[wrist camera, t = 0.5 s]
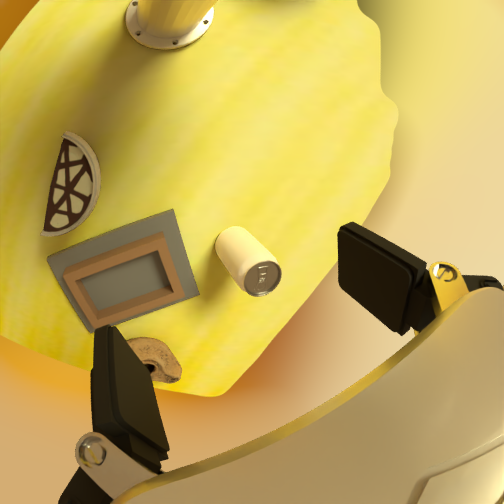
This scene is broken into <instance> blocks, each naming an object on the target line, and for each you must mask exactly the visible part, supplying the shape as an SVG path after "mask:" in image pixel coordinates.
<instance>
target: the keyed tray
mask: <svg viewBox="0 0 504 504" xmlns="http://www.w3.org/2000/svg"><path fill="white" fill-rule="evenodd" d="M47 261H48V263H49V265H50V267H51V269H52V271H53V273H54V275H55V277H56V278H57V280H58V282H59V284H60V286H61V287H62V289H63V291H64V293H65V294H66V296H67V298H68V299H69V301H70V303H71V304H72V306H73V308H74V309H75V311H76V312H77V314H78V316H79V317H80V319H81V320H82V322H83V323H84V325H85V326H86V328H87V329H88V331H89V332H90V333H93V332H95V329H97V328H100V327H102V326H105V325H107V324H109V325H110V326H113V325H116V324H119V323H122V322H125V321H128V320H130V319H133V318H136V317H139V316H142V315H145V314H147V313H150V312H153V311H156V310H159V309H161V308H164V307H167V306H170V305H173V304H175V303H178V302H181V301H184V300H186V299H189V298H192V297H195V296H197V295H200V294H199V291H198V288H197V285H196V282H195V279H194V276H193V273H192V269H191V266H190V263H189V260H188V257H187V254H186V250H185V247H184V244H183V241H182V237H181V234H180V230H179V227H178V224H177V220H176V217H175V213H174V210H173V209H171V210H168V211H165V212H162V213H159V214H156V215H153V216H150V217H147V218H144V219H141V220H139V221H136V222H133V223H130V224H128V225H125V226H122V227H119V228H117V229H114V230H111V231H109V232H106V233H104V234H101V235H98V236H96V237H93V238H91V239H88V240H86V241H83V242H81V243H78V244H76V245H74V246H71V247H69V248H66V249H64V250H62V251H59V252H57V253H55V254H53V255H50V256H48V258H47Z"/></svg>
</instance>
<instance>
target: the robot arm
mask: <svg viewBox="0 0 504 504" xmlns="http://www.w3.org/2000/svg"><path fill="white" fill-rule="evenodd" d="M217 1H218V0H132V1H131V2H130V4H129V6H128V8H127V12H126V27H127V29H128V32H129V33H130V35H131V36H132V37H133V38H134V39H135V40H136V41H137V42H139V43H140V44H142V45H144V46H147V47H150V48H154V49H160V50H169V49H176V48H180V47H183V46H186V45H188V44H190V43H193V42H194V41H196V40H197V39H199V38H200V37H201V36H202V35H203V34H204V33H205V32H206V31H207V29H208V28H209V27H210V25H211V23H212V20H213V17H214V7H213V6H214V5H215V3H216V2H217ZM134 5H137V6H134ZM203 23H206V25H205V24H203ZM137 34H140V36H137ZM173 43H176V45H173ZM337 237H338V282H339V285H340V287H341V288H342V289H343V290H344V291H345V292H346V293H347V294H349V295H350V296H351V297H352V298H353V299H355V300H356V301H357V302H358V303H359V304H361V305H362V306H363V307H364V308H365V309H367V310H368V311H369V312H370V313H371V314H373V315H374V316H375V317H376V318H378V319H379V320H380V321H381V322H382V323H383V324H384V325H386V326H387V327H388V328H389V329H390V330H392V331H393V332H397V333H398V334H400V335H401V336H403V335H404V334H405V333H406V332H407V331H409V330H410V327H412V328H413V329H414V333H415V337H414V338H413V339H412V340H411V341H410V342H408V343H407V344H406V345H405V346H404V347H402V348H401V349H400V350H399V351H397V352H396V353H395V354H394V355H393V356H391V357H390V358H389V359H387V360H386V361H385V362H384V363H382V364H381V365H380V366H378V367H377V368H376V369H374V370H373V371H372V372H370V373H369V374H367V375H366V376H365V377H363V378H362V379H360V380H359V381H357V382H356V383H354V384H353V385H352V386H350V387H349V388H347V389H346V390H344V391H342V392H341V393H339V394H338V395H336V396H335V397H333V398H331V399H330V400H328V401H327V402H325V403H323V404H322V405H320V406H318V407H317V408H315V409H313V410H311V411H310V412H308V413H306V414H305V415H303V416H301V417H299V418H297V419H295V420H294V421H292V422H290V423H288V424H286V425H284V426H282V427H280V428H278V429H276V430H274V431H272V432H270V433H268V434H266V435H263V436H261V437H259V438H257V439H255V440H252V441H250V442H248V443H246V444H243V445H241V446H239V447H236V448H234V449H231V450H229V451H227V452H224V453H221V454H218V455H216V456H213V457H211V458H208V459H205V460H202V461H200V462H196V463H194V464H191V465H187V466H184V467H181V468H178V469H175V470H172V471H169V472H164V471H163V470H161V463H160V461H163V460H166V459H168V455H167V451H169V450H170V449H169V444H168V441H167V437H166V435H165V431H164V427H163V423H162V420H161V416H160V413H159V408H158V404H157V400H156V396H155V392H154V387H153V383H152V378H151V375H150V372H149V370H148V369H147V368H146V366H145V365H144V364H143V363H142V361H141V360H140V359H139V357H138V356H137V355H136V354H135V352H134V351H133V350H132V348H131V347H130V346H129V344H128V343H127V341H126V340H125V339H124V337H123V336H122V335H121V333H120V332H119V330H118V329H117V328H116V327H115V326H113V327H111V326H110V325H109V324H107V325H105V326H102V327H100V328H97V329H95V332H94V356H93V368H92V370H91V411H92V425H93V432H90V433H87V434H85V435H83V436H82V437H81V438H80V439H79V441H78V443H77V445H76V449H75V457H76V460H77V462H78V464H79V465H80V467H79V468H78V470H77V471H76V473H75V474H74V476H73V477H72V479H71V481H70V482H69V484H68V485H67V487H66V489H65V490H64V492H63V493H62V495H61V496H60V499H59V501H58V504H504V285H503V286H502V285H501V283H500V282H499V281H498V280H497V279H496V278H494V277H491V276H475V275H461V273H460V271H459V270H458V268H456V267H455V266H454V265H452V264H450V263H447V262H435V263H433V264H432V265H431V266H430V268H429V271H428V270H427V269H426V264H427V263H426V262H425V261H423V260H421V259H419V258H417V257H416V256H414V255H413V254H411V253H409V252H407V251H406V250H404V249H402V248H400V247H399V246H397V245H395V244H394V243H392V242H390V241H388V240H386V239H385V238H383V237H381V236H379V235H377V234H375V233H374V232H372V231H370V230H368V229H366V228H364V227H362V226H360V225H359V224H357V223H355V222H350V223H348V224H345V225H343V226H341V227H340V229H339V232H338V234H337Z"/></svg>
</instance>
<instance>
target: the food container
mask: <svg viewBox="0 0 504 504" xmlns="http://www.w3.org/2000/svg"><path fill="white" fill-rule="evenodd" d="M61 137H63V138H64V139H63V142H62V144H61V149H60V153H59V156H58V160H57V164H56V167H55V171H54V175H53V178H52V182H51V186H50V192H49V198H48V204H47V210H46V216H45V223H44V229H43V231H42V233H41V234H40V235H42V236H58V235H62V234H65V233H68V232H70V231H71V230H73V229H75V228H76V227H78V226H79V225H80V224H81V223H83V222H84V221H85V220H86V219H87V217H88V216H89V215H90V213H91V212H92V211H93V209H94V207H95V205H96V203H97V200H98V197H99V193H100V187H101V173H100V167H99V162H98V159H97V156H96V154H95V153H94V151H93V150H92V148H91V147H90V146H89V144H88V143H87V142H86V141H85V140H84V139H82V138H81V137H80V136H78V135H76V134H75V133H72V132H70V131H67V132H65V133H64V134H63V136H61Z"/></svg>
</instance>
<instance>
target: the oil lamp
mask: <svg viewBox="0 0 504 504" xmlns="http://www.w3.org/2000/svg"><path fill="white" fill-rule="evenodd" d="M127 343H128V344H129V346H130V347H131V348H132V350H133V351H134V352H135V354H136V355H137V356H138V357H139V359H140V360H141V361H142V363H143V364H144V365H145V366H146V368H147V369H148V370H149V372H150V375H151V378H152V380H153V381H160V382H164V383H175V382H177V381H179V380H180V378H181V373H182V368H181V366H180V364H179V362H178V361H177V359H176V358H175V356H174V355H173V354H172V352H171V351H170V349H169V348H168V346H167V345H166V344H165V343H163V342H162V341H160V340H157V339H154V338H147V337H140V338H134V339H130V340H128V341H127Z"/></svg>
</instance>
